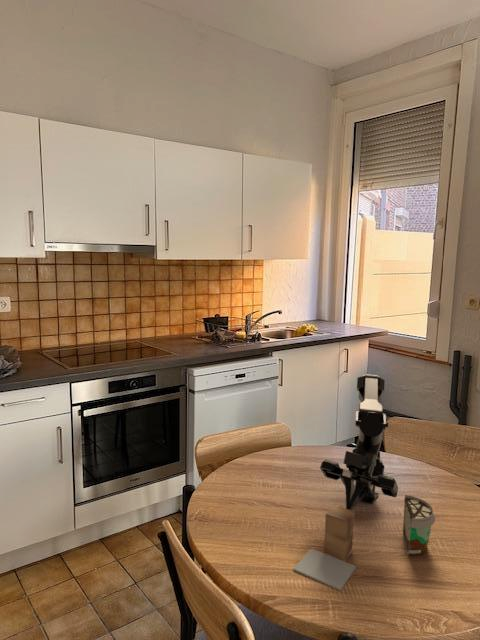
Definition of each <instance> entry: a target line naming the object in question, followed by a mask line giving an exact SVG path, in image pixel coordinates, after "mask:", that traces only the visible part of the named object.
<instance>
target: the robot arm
mask: <svg viewBox="0 0 480 640" xmlns="http://www.w3.org/2000/svg"><path fill="white" fill-rule="evenodd" d="M385 380H386V379H384V378H382V377H381V376H380V375H379V374H368V373H366V374H363V376H359V377H357V378H356V392H358V400H359V401H360V403H359V405H358V410H356V412H355V427H357V428H358V439H357V441H356V446H355V448H353V449H352V451H348V450H345V454H344V459H343V464H344V465H345V467H346V469H344V468H341V466H340V464H339V463H338V462H336V461H332V460H330V459H329V460H328V459H324V460H323V461H321V464H320V467H319V469H320V471H321V473H322V474H323V475H324V477H325V478H326V479H331V480H334V481H338V480H341V482H342V484H343V486H344V488H345V506H346V507H345V509H348V510H352V511H353V510H354V508H355V507H356V506H357V505H358V504H359V502H360V501H361V502H365V503H367V504H373V503H374V502H375V501H376V499H377V498H378V496H379V492H376V487H377V488H380V490H381V492H382V494H383V495H384V496H387V497H388V496H389V497H392V498H397V496H398V492H399V487H398V482H397V481H396V479H395V478H394V477H391V476H387V475H385V473H384V472H385V465H384V463H383V460H381V452H380V451H381V450H380V449H381V445H382V443H383V442H382V441H383V432H384V430H386V428H388V427H389V421H388V417H387V415H386V413H384V407H383V405H382V404H381V403H380V402H381V401H382V394H385Z"/></svg>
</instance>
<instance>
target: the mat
mask: <svg viewBox="0 0 480 640" xmlns="http://www.w3.org/2000/svg"><path fill="white" fill-rule="evenodd" d="M356 569H357V566H356V565H354V564H351V563H348V562H346V561H341V560H339V559H336V558H334V557H331V556H329V555H326V554H324V552H320V551H319V550H316V549H313V548H311V549H309V551H308V552H307V553H306V554H305V555H304V556H303V557H302V559H300V560H299V562H298V563H297V564H296V565H295V566H294V567H293V571H294V572H297V573H299V574H301V575H303V576H306V577H308V578H310V579H311V580H315V581H317V582H319V583H322V584H324V585H327V586H329V587H331V588H334V589H336V590H338V591H342V590H343V587H344V586H345V585H346V584H347V582H348V580H349V579H350V578H351V576H352V575H353V573H354V571H355V570H356Z"/></svg>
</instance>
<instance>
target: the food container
mask: <svg viewBox="0 0 480 640" xmlns="http://www.w3.org/2000/svg"><path fill="white" fill-rule="evenodd" d="M403 501H404V504H403V505H404V508H403V523H402V524H403V525H402V536H403V540H404V545H405V549H406V554H407V556H408V557H412V558H413V557H421V556H423V555H425V554H426V553H427V552H428V546H429V540H430V534H431V530H432V529H431V528H432V526H433V525H434V524H435V522H436V517H435V511H434V508H433V507H432V505H431V504H430V503H428V502H427V501H426V500H424V499H421V498H419V497H416V496H413V495H408V494H404V500H403Z"/></svg>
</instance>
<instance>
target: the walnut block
mask: <svg viewBox="0 0 480 640" xmlns="http://www.w3.org/2000/svg"><path fill="white" fill-rule="evenodd" d="M324 523H325V524H324V543H323V553H324V554H326V555H329V556H331V557H334V558H336V559H339V560H341V561H344V562H346V560H347V558H348V557H349V556H350V554H351V553H352V552H353V543H354V542H353V539H354V526H355V525H354V524H355V511H354V510H353V509H352V510H348V509H346V507H342V506H339V505H336V504H333V505H332V507H331V508H329V510H328V511H327V512H326V513H325V522H324Z"/></svg>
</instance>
